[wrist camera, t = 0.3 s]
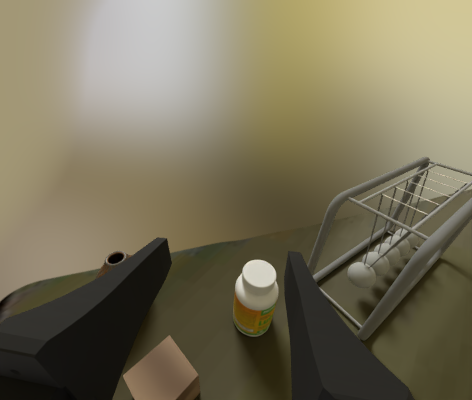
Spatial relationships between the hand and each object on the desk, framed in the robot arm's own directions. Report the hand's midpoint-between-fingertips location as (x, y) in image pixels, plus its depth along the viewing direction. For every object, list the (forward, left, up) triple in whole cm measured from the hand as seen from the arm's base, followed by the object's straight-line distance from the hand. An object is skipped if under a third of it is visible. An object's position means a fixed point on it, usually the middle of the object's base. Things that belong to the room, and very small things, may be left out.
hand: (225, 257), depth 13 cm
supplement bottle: (+8, -3, -21) cm, 23 cm away
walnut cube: (-2, +5, -21) cm, 22 cm away
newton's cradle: (+22, -24, -21) cm, 38 cm away
